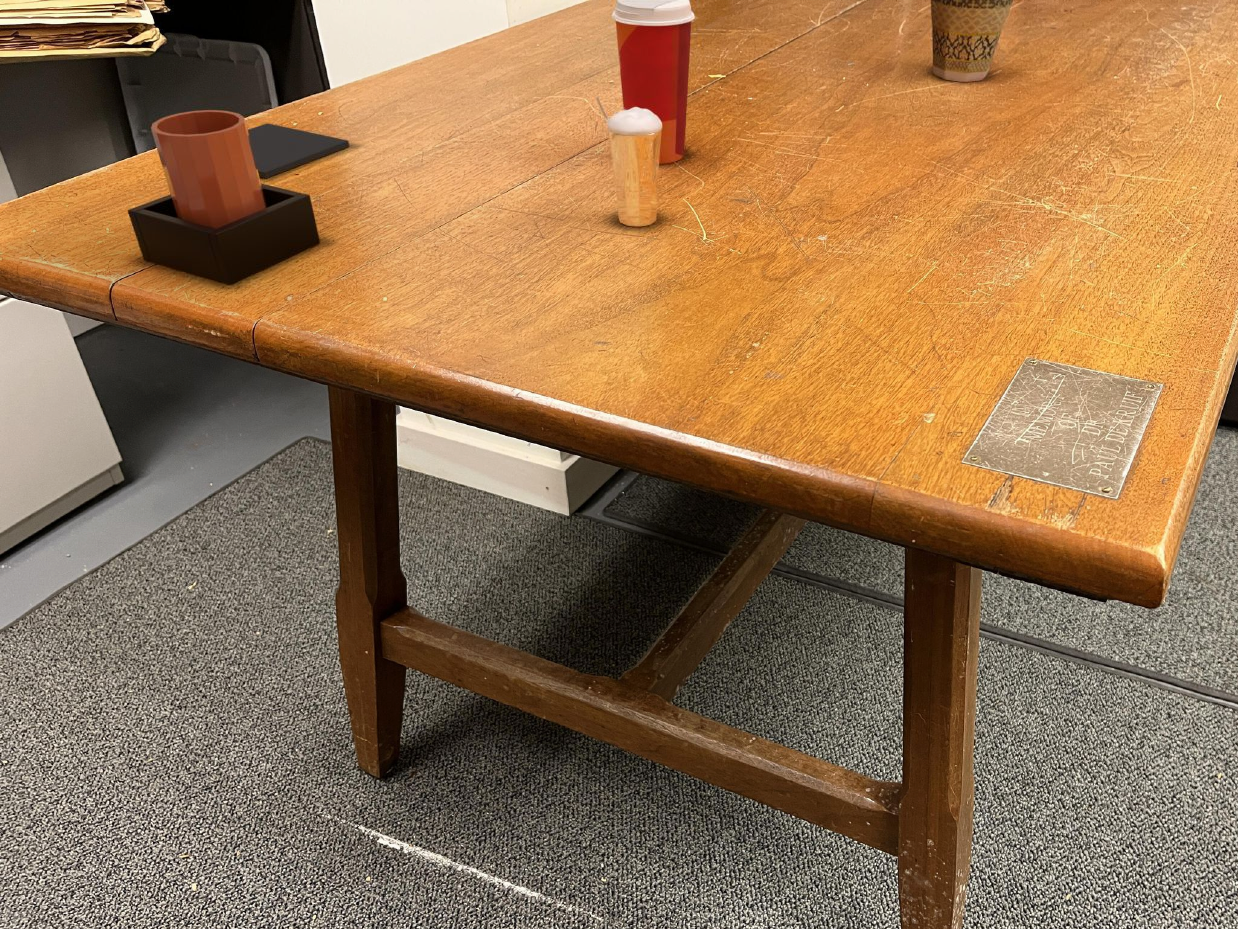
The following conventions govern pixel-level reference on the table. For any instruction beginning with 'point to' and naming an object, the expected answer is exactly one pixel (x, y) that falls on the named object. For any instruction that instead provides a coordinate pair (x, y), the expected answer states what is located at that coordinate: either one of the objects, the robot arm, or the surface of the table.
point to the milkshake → (635, 163)
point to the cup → (209, 166)
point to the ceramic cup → (966, 36)
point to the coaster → (288, 148)
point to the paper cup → (656, 64)
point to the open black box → (227, 236)
